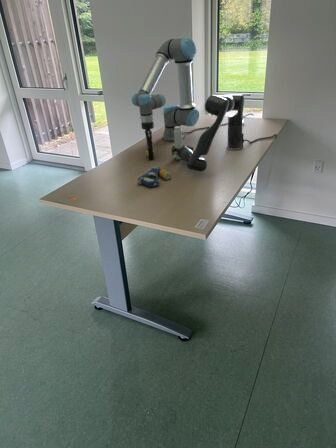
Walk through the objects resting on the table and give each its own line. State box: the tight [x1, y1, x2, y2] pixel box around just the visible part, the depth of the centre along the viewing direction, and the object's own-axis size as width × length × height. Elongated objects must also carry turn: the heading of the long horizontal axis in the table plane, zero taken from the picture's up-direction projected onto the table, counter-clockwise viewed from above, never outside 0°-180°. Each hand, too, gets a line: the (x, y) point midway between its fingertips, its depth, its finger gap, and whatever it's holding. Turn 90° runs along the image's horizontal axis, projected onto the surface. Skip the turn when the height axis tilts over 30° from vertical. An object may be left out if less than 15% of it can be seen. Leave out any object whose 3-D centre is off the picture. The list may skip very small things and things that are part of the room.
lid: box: [145, 149, 156, 157], centre depth 213 cm, size 5×5×2 cm
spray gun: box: [137, 166, 171, 188], centre depth 184 cm, size 21×4×15 cm
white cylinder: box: [174, 126, 184, 160], centre depth 206 cm, size 5×5×20 cm
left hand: (150, 158), depth 215 cm, fingers closed on lid, 5 cm apart
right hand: (177, 146), depth 210 cm, fingers closed on white cylinder, 5 cm apart
